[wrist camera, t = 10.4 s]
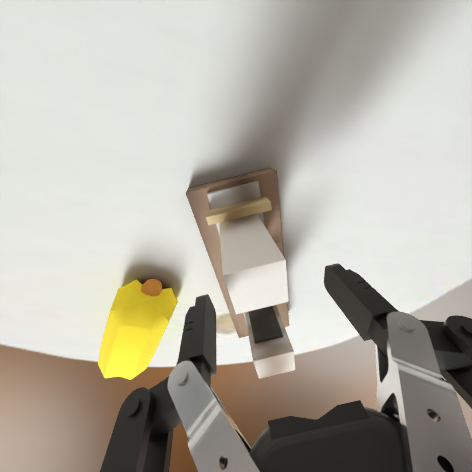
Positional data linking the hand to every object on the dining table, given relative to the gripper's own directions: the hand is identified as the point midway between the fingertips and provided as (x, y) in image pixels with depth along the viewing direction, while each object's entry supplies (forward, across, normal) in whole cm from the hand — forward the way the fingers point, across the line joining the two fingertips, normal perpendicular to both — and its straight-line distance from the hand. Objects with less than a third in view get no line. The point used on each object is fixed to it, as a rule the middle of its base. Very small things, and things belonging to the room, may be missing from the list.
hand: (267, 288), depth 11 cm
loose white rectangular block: (+8, +1, 0) cm, 8 cm away
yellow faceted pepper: (+11, +19, +11) cm, 24 cm away
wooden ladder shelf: (+11, +1, +8) cm, 13 cm away
